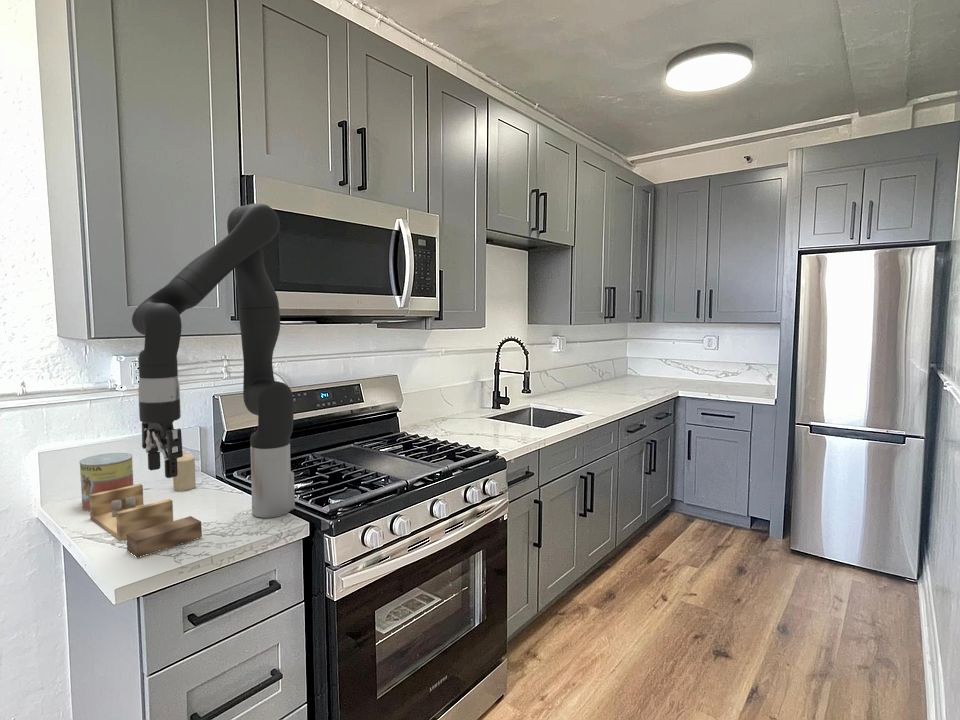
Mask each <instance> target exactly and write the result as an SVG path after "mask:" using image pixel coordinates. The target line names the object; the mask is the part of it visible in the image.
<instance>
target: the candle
mask: <svg viewBox="0 0 960 720" xmlns="http://www.w3.org/2000/svg"><path fill="white" fill-rule="evenodd" d="M177 469H178V475H177V476H176V477H172V481H173V482H172V483H173V484H172V485H173V490H174V491H176V492H185V491H191V490H193V489H195V488H196V484H197V483H196V458H195V456H194V455H192V454H191V453H190V452H183V456H182V457H179V458H178V459H177Z"/></svg>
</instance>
